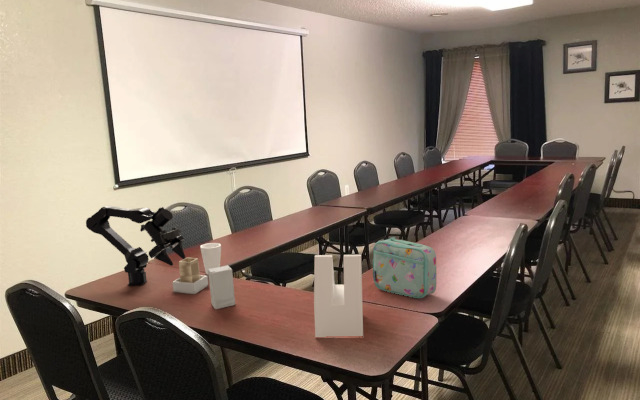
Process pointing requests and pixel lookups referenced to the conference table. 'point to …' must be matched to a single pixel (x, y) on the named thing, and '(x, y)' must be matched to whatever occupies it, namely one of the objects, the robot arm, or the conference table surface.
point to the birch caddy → (189, 270)
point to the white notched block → (338, 298)
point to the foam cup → (211, 255)
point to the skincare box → (221, 287)
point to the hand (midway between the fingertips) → (178, 261)
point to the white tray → (190, 285)
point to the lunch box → (404, 268)
